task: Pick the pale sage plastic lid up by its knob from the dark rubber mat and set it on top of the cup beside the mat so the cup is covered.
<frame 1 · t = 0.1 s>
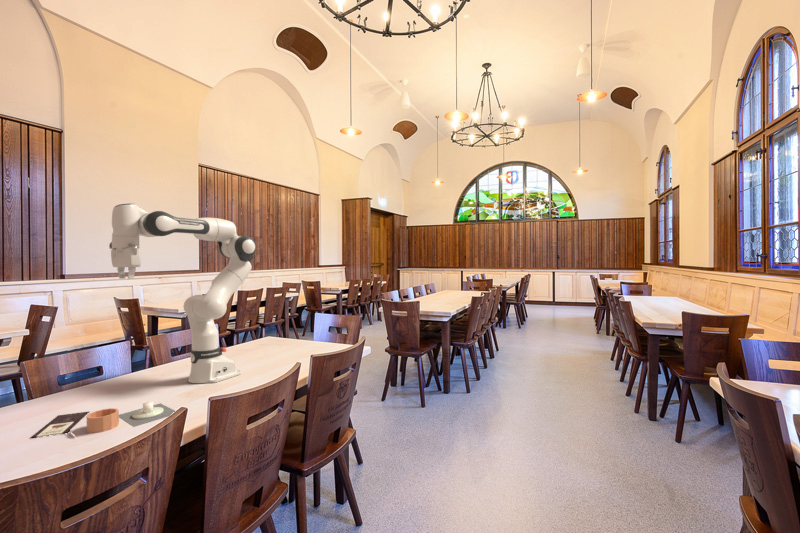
hand: (126, 278, 151), 48 cm above the table, tool pointing down, fingers open, 8 cm apart
lid: (148, 414, 134), resting on mat
cup: (103, 428, 123), on the table
chocolate bar: (62, 426, 127), on the table
mat: (148, 415, 134), on the table
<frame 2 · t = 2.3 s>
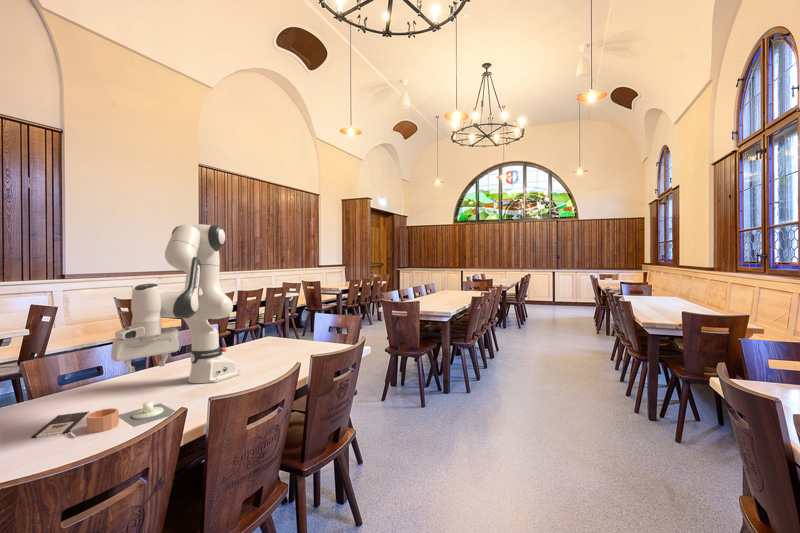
hand: (147, 369, 133), 16 cm above the table, tool pointing down, fingers open, 8 cm apart
nothing on the table moved.
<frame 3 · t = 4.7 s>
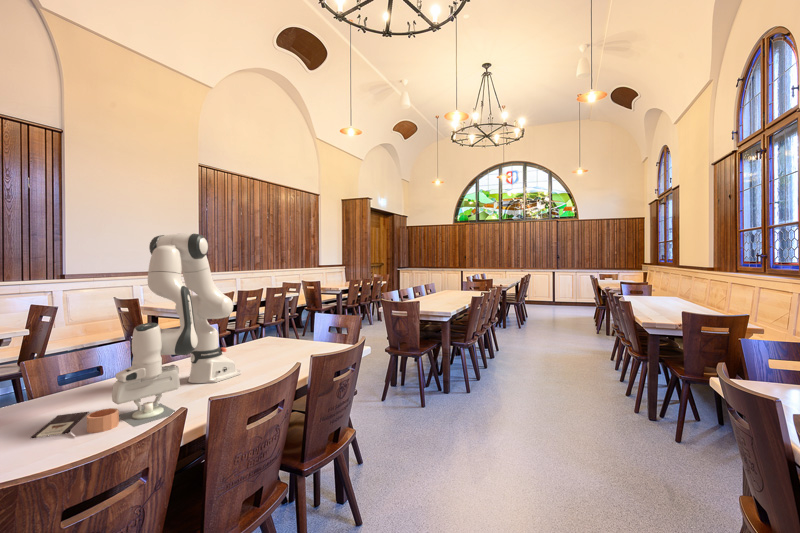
hand: (148, 408, 134), 2 cm above the table, tool pointing down, fingers closed on lid, 3 cm apart
lid: (148, 414, 134), resting on mat, touching gripper
everything else where it was.
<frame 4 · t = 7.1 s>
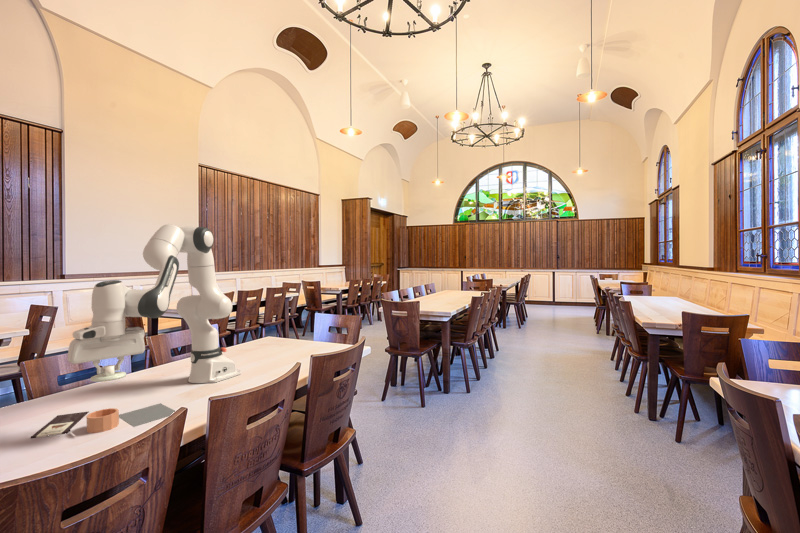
hand: (108, 372, 124), 18 cm above the table, tool pointing down, fingers closed on lid, 3 cm apart
lid: (108, 377, 124), point 16 cm above the table, touching gripper
everything else where it was.
when the fingers open (8 cm above the table, at t = 9.6 s): lid drops 1 cm, resting on cup.
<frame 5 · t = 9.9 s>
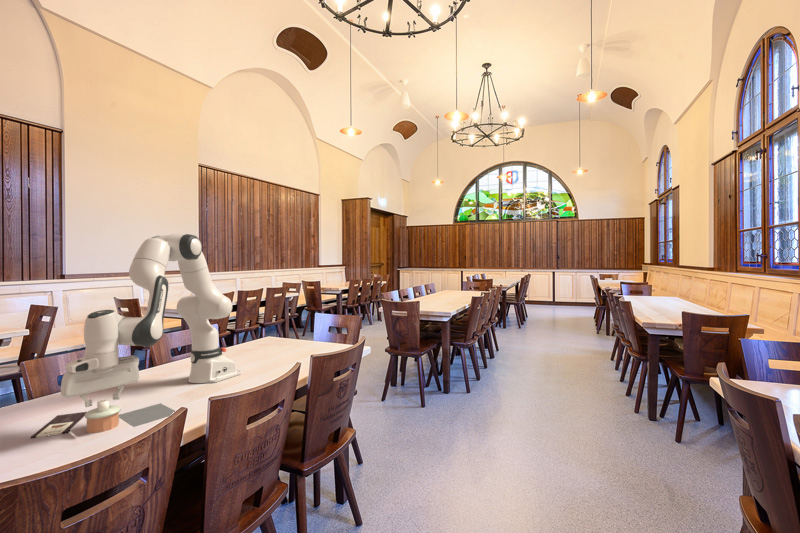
hand: (102, 402, 123), 8 cm above the table, tool pointing down, fingers open, 6 cm apart
lid: (103, 413, 123), point 5 cm above the table, touching cup
everything else where it was.
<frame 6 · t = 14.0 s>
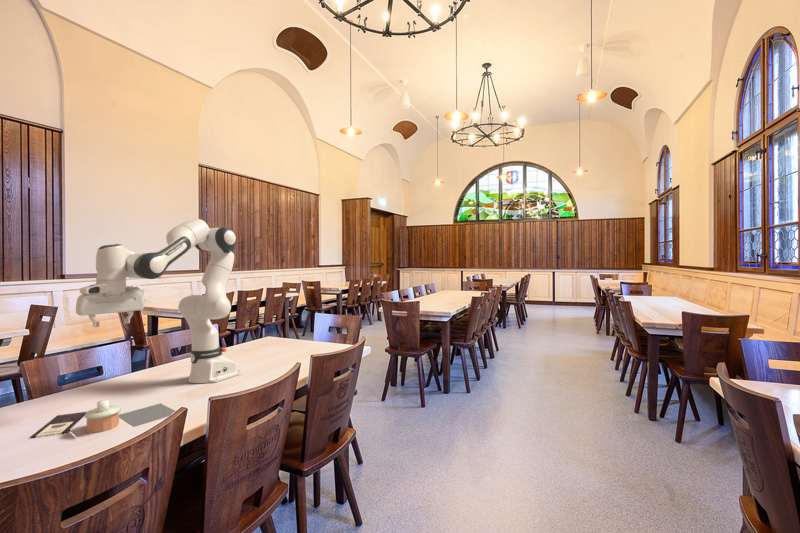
hand: (111, 325, 140), 31 cm above the table, tool pointing down, fingers open, 8 cm apart
nothing on the table moved.
at the end: lid 0.1 cm off-centre on the cup, point 5.0 cm above the cup's base; lid tilted 0°; the gripper is holding nothing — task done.
